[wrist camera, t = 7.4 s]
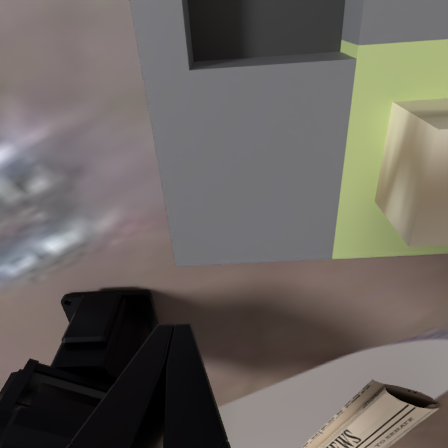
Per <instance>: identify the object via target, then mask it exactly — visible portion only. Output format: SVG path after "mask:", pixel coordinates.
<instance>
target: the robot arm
mask: <svg viewBox="0 0 448 448" xmlns="http://www.w3.org/2000/svg"><path fill="white" fill-rule="evenodd" d="M143 297H145V298H143ZM61 304H62V307H63V309H64V311H65V314H66V316H67V318H68V321H69V325H68V327H67V329H66V331H65V333H64V335H63V338H62V343H61V345H60V347H59V349H58V351H57V353H56V355H55V357H54V360H53V362H52V364H51V366H48V365H44V364H41V363H38V362H39V361H37V360H33V359H29V360H28V362H27V364H26V365H25V367H24V369H23V370H21V369H19V371H18V372H13V373H11V374H10V376H9V378H8V380H7V381H6V383H5V385H4V386H3V388H2V390H1V392H0V448H231V447H230V444H229V442H228V438H227V435H226V432H225V429H224V426H223V422H222V420H221V417H220V414H219V410H218V407H217V404H216V401H215V398H214V395H213V392H212V388H211V385H210V382H209V379H208V376H207V373H206V370H205V367H204V364H203V361H202V358H201V355H200V351H199V348H198V345H197V342H196V339H195V336H194V333H193V330H192V327H191V324H190V323H176V324H175V325H174V324H172V323H164V324H159V325H158V321H157V316H156V312H155V308H154V304H153V299H152V295H151V293H150V292H148V291H144V290H142V291H121V292H99V293H77V294H65V295H64V296H63V298H62V300H61Z"/></svg>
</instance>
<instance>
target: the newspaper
mask: <svg viewBox="0 0 448 448" xmlns="http://www.w3.org/2000/svg"><path fill="white" fill-rule="evenodd" d="M432 400H434V399H433V398H431V397H430V396H427V395H425V394H423V393H421V392H418V391H414V390H411V389H407V388H403V387H400V386H395V385H389V384H383V383H380V382H377V381H374V380H373V379H372V380H371V381H370V383H368V384H367V385H366V386H365V387H364V388H363V389H362V390H361V391H360V392H359V393H358V394H357V395H355V396H354V397H353V398H352V399H351V400H350V401H349V402H348V403H347V404H346V405H345V406H344V407H343V408H342V409H341V410H340V411H339V412H338V413H337V414H335V415H334V417H332V418H331V419H330V420H329V421H328V422H327V423H326V424H325V425H324V426H323V427H322V428H321V429H320V430H319V431H318V432H317V433H315V434H314V435H313V436H312V437H311V438H310V439H309V440H308V441H307V442H306V443H305V444H304V445H303V446H302V447H301V448H388V447H390V446H391V445H392V444H394V443H395V442H396V441H397V440H399V439H400V438H401V437H403V436H404V435H405V434H407V433H408V432H409V431H411V430H412V429H413V428H414V427H416V426H417V425H418V424H420V423H421V422H422V421H424V420H425V419H426V418H428V417H429V416H430V415H432V414H433V413H434V412H435V411H437V410H438V409H439V408H440V407H439V405H438V403H437V404H436V405H434V404H431V405H428V406H427V407H426V408H421V407H423V406H424V405H426V404H428V403H429V402H431V401H432Z"/></svg>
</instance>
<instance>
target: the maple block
mask: <svg viewBox="0 0 448 448" xmlns="http://www.w3.org/2000/svg"><path fill="white" fill-rule="evenodd" d="M375 203H376V204H377V205H378V207H379V208H380V209H381V211H382V212H383V213H384V215H385V216H386V217H387V219H388V220H389V221H390V223H391V224H392V225H393V227H394V228H395V229H396V231H397V232H398V233H399V235H400V236H401V237H402V239H403V240H404V241H405V243H406V244H407V246H408V247H416V246H435V245H448V98H442V99H427V100H412V101H397V102H392V108H391V113H390V119H389V124H388V130H387V136H386V141H385V147H384V152H383V158H382V163H381V169H380V174H379V180H378V185H377V191H376V197H375Z"/></svg>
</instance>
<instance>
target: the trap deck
mask: <svg viewBox="0 0 448 448" xmlns="http://www.w3.org/2000/svg"><path fill="white" fill-rule="evenodd" d="M130 5H131V11H132V17H133V23H134V28H135V34H136V40H137V46H138V51H139V57H140V63H141V69H142V74H143V80H144V86H145V92H146V97H147V103H148V109H149V115H150V120H151V126H152V132H153V138H154V144H155V149H156V155H157V161H158V167H159V172H160V178H161V184H162V190H163V195H164V201H165V207H166V213H167V218H168V224H169V230H170V236H171V241H172V247H173V253H174V259H175V264H176V267H180V266H200V265H221V264H242V263H262V262H283V261H304V260H324V259H345V258H366V257H386V256H407V255H428V254H448V245H435V246H416V247H408V246H407V244H406V243H405V241H404V240H403V239H402V237H401V236H400V235H399V233H398V232H397V231H396V229H395V228H394V227H393V225H392V224H391V223H390V221H389V220H388V219H387V217H386V216H385V215H384V213H383V212H382V211H381V209H380V208H379V207H378V205H377V204H376V203H375V197H376V191H377V185H378V180H379V174H380V169H381V163H382V158H383V152H384V147H385V141H386V136H387V130H388V124H389V119H390V113H391V108H392V102H397V101H412V100H427V99H442V98H448V0H130Z"/></svg>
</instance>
